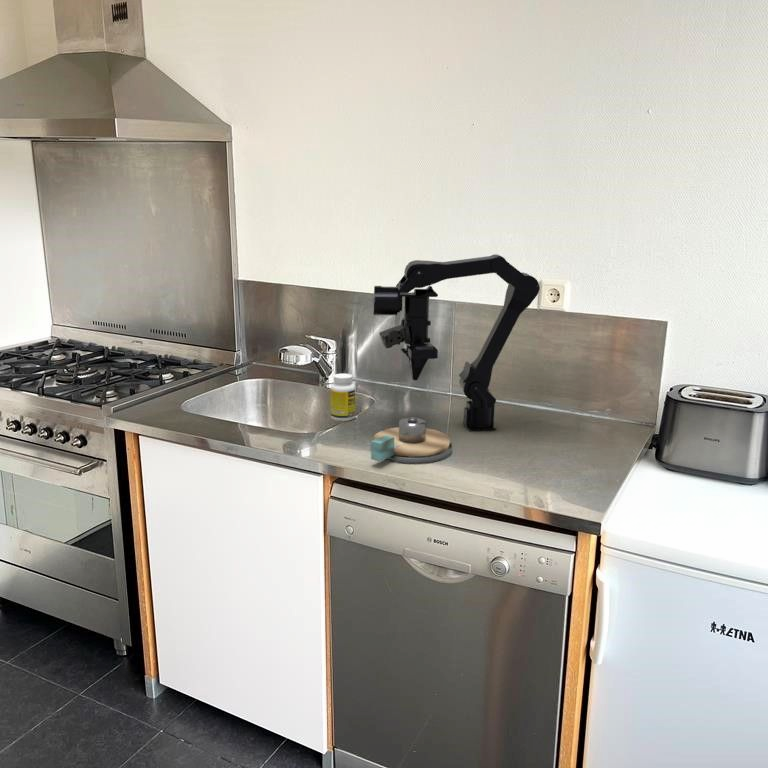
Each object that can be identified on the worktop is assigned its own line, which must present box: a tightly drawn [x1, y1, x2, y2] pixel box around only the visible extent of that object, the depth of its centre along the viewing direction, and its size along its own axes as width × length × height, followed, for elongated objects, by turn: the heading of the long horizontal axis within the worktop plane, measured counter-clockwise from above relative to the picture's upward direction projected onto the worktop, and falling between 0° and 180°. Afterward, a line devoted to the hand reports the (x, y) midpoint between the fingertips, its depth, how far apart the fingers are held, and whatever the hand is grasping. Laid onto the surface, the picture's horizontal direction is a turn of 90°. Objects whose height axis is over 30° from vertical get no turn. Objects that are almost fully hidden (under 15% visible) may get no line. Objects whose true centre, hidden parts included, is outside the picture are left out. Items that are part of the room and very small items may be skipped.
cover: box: [398, 416, 427, 444], centre depth 169 cm, size 6×6×5 cm
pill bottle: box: [330, 373, 356, 422], centre depth 191 cm, size 6×6×11 cm
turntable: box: [370, 426, 451, 462], centre depth 168 cm, size 22×17×4 cm
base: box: [384, 442, 453, 465], centre depth 171 cm, size 18×18×1 cm
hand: (414, 379), depth 183 cm, fingers closed
